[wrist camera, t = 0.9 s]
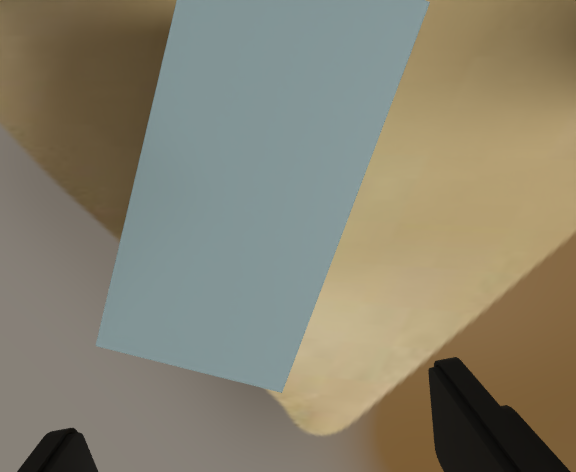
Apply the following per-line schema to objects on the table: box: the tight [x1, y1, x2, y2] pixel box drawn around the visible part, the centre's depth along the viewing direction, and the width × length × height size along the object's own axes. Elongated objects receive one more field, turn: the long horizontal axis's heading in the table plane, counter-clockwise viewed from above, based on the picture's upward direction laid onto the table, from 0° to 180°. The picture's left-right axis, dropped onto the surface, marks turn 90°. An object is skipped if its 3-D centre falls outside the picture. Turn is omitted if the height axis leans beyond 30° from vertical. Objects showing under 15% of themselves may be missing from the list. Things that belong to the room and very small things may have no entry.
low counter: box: [96, 0, 430, 393], centre depth 28 cm, size 24×12×17 cm, turn 161°
